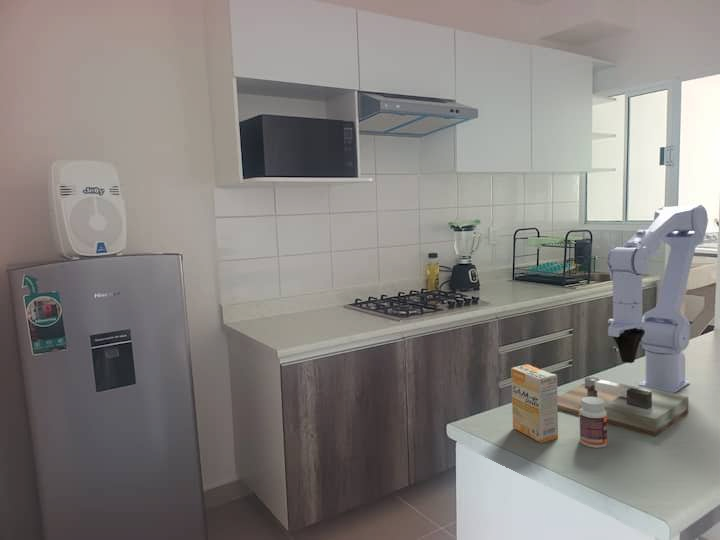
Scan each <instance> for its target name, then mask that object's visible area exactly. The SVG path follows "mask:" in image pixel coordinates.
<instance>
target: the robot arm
mask: <svg viewBox="0 0 720 540" xmlns="http://www.w3.org/2000/svg"><path fill="white" fill-rule="evenodd" d="M708 223H709V218H708V211H707V209H706V208H705V206H704V205H702V204H696V205H683V206H681V205H679V206H659V207H658V208H657V210H656V211H655V212H654V217H653V222H651V224H650V225H649V227H648V228H647V229H638V230H636V231H635V234H634V235H632V236H631V238H630V239H628V240H627V241H626V242H625V243H624V244H623V245H622V246H619V247H618V246H617V247H614V248H613V249H611V250H609V253H608V255H607V258H606V259H607V260H606V267H607V270H608V272H609V279H610V281H611V282H612V318H609V319H608V320H607V323H608V324H610V326H608V327H607V335H608V337H612V338H613V340H614V342H615V343H616V345H617V349H618V353H619V355H620V359H621V362H623V363H627V364H633V363H634V362H635V360H636V357H637V352H638V349H639V346H640V345H641V347H642V349H643V350H645V352H644V353H645V379H644V380H643V381H641V382H639V383H638V386H642V387H647V388H651V389H656V390H661V391H665V392H670V393H675V394H676V392H678V391H680V390H681V389H683V388H684V387H686V386H687V385H689V384H690V380H686V356H685V354H684V351H685V350H686V349H687V347H688V346H689V344H690V339H691V338H690V337H691V335H690V332H691V331H690V330H691V322H690V321H689V319H688V318H687V317H686V316H685V315H684V314H683V313H681V308H682V304H683V300H684V296H685V291H686V288H687V284H688V279H689V276H690V271H691V267H692V263H693V259H694V255H695V251H696V246H698V245H701V244H702V243H704V240H705V239H704V238H705V235H706V233H707V232H706V231H707V227H708ZM661 241H662V242H663V243H664V244H666V245H668V246H669V247H670V252H669V254H668V259H667V262H666V266H665V270H664V275H663V278H662V282H661V285H660V286H661V287H660V290H659V295H658V297H657V302H656V306H655V307H654V308H652V309H650V310H647V311H646V312H644V313H643V274H644V273H645V272H646V271H647V269H648V265H649V263H650V260H651V257H652V256H653V255H654V254H656V252H657V251H658V250H659V249H660V247H661Z"/></svg>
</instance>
